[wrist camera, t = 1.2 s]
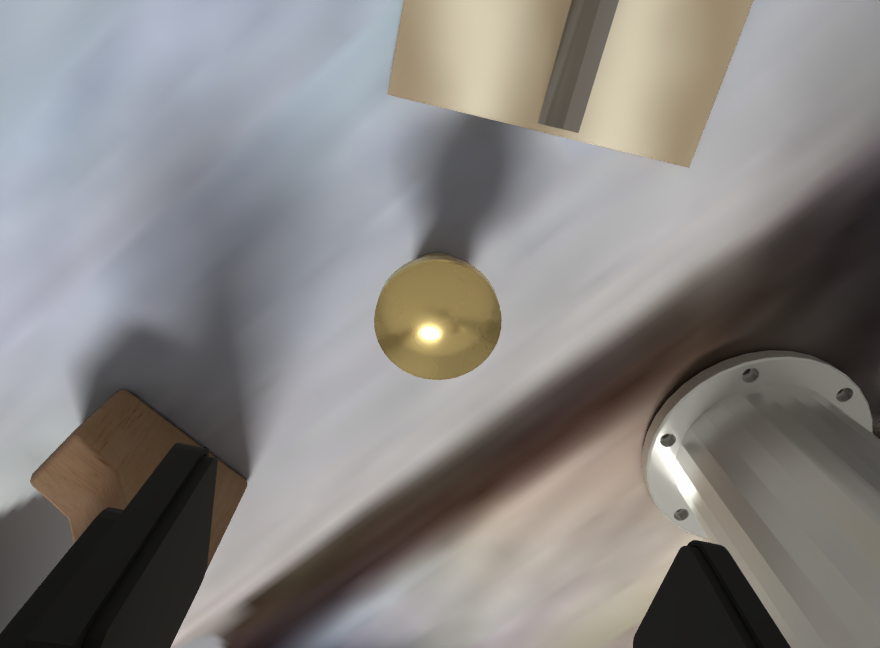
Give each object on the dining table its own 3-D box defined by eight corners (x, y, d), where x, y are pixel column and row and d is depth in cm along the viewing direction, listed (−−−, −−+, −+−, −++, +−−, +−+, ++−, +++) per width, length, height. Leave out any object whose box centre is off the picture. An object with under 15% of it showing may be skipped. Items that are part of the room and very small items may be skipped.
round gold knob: (499, 241, 27) (516, 277, 22) (473, 334, 29) (483, 390, 24) (396, 218, 27) (387, 249, 21) (377, 314, 29) (364, 366, 23)
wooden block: (78, 431, 31) (-331, 814, 14) (124, 383, 30) (-261, 739, 13) (205, 521, 34) (-18, 933, 17) (252, 480, 33) (63, 880, 16)
